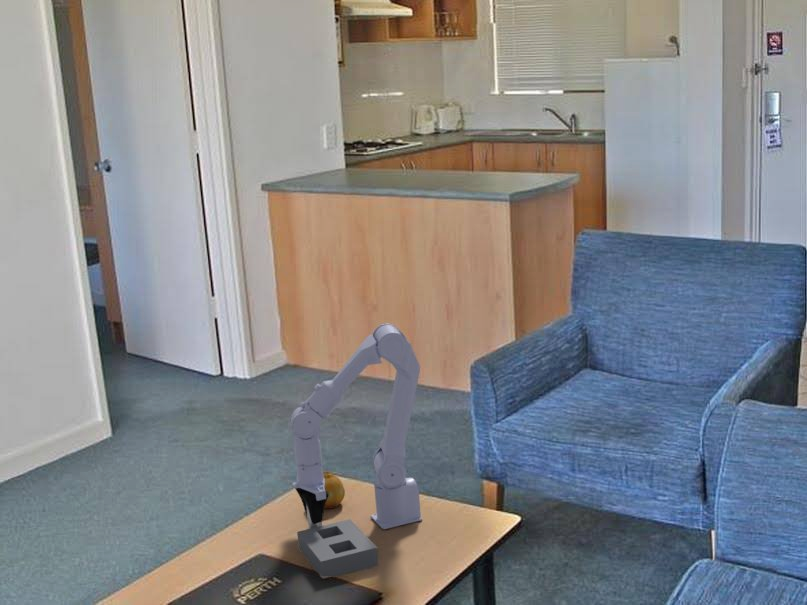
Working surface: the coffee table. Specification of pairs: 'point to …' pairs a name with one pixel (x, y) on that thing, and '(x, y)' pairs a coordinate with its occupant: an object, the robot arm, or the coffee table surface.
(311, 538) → the hole board
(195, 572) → the coffee table surface
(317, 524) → the pin
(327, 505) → the fruit
